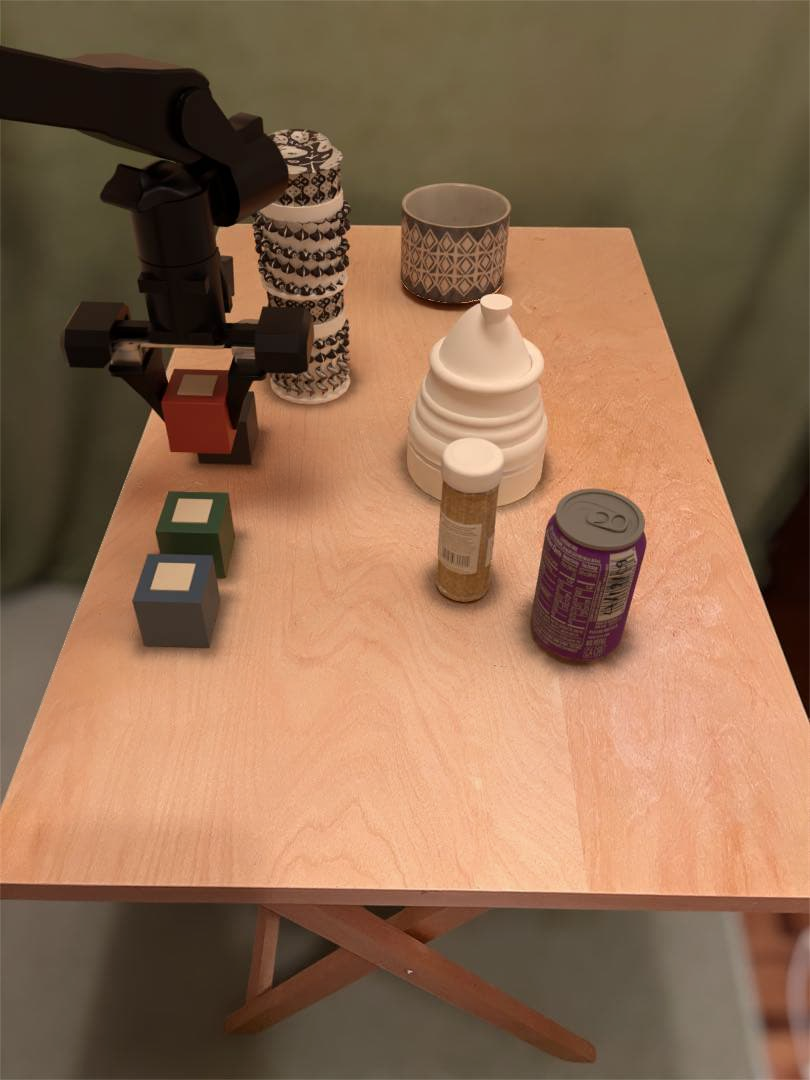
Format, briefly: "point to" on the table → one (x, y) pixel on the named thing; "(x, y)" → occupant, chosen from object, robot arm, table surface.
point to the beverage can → (588, 573)
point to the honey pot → (481, 400)
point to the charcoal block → (239, 438)
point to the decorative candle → (309, 261)
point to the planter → (454, 241)
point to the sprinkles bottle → (468, 517)
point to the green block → (197, 526)
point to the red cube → (198, 412)
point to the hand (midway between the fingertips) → (204, 426)
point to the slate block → (177, 600)
